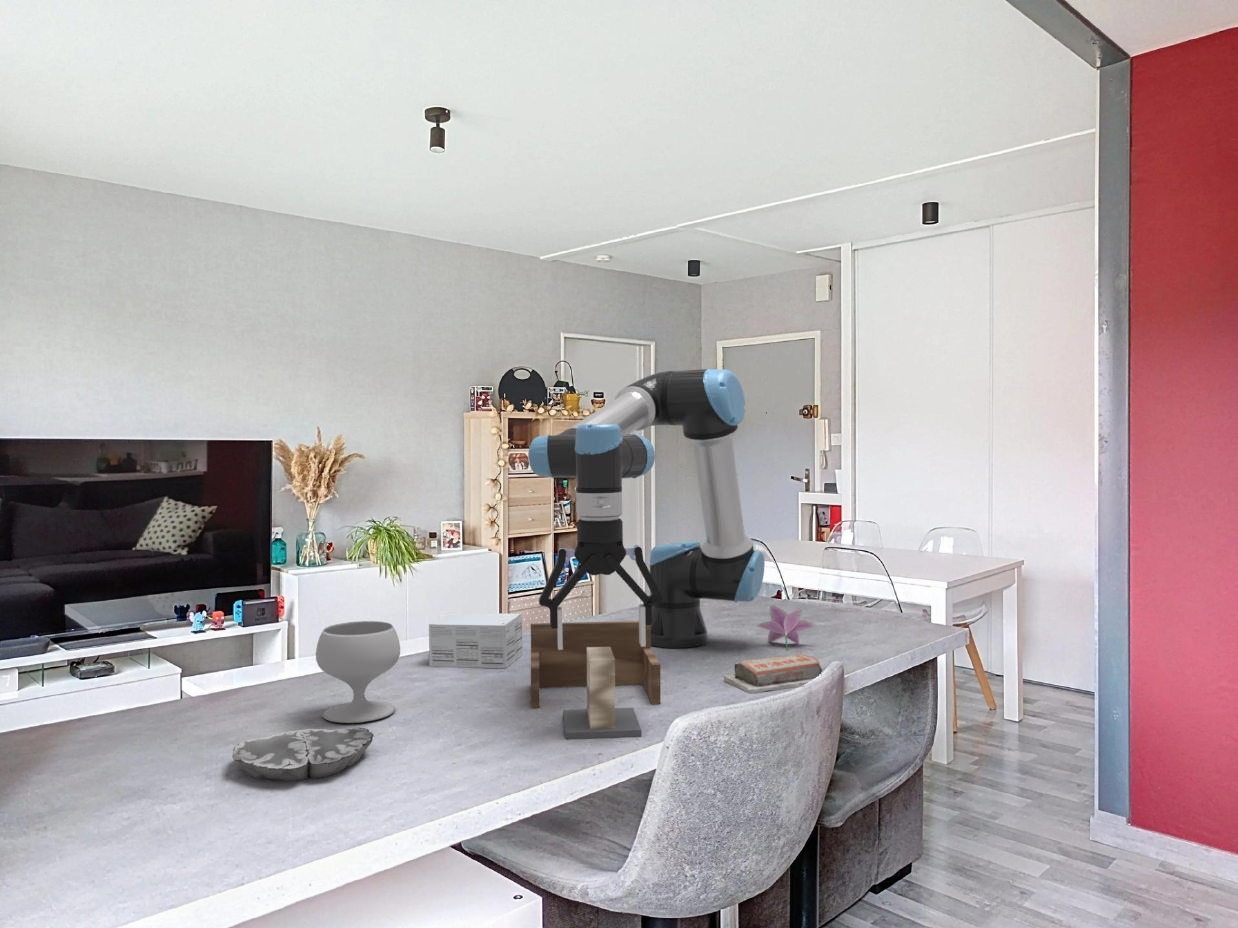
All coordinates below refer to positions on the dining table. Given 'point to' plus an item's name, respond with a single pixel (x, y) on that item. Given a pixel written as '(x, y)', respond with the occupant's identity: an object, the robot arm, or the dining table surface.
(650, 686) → the walnut cubby
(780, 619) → the lily
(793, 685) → the packaged product
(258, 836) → the dining table surface
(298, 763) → the brain slice
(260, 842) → the dining table surface
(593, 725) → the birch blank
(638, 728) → the charcoal mat
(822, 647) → the dining table surface
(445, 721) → the dining table surface
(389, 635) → the chalice
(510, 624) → the supplement box
